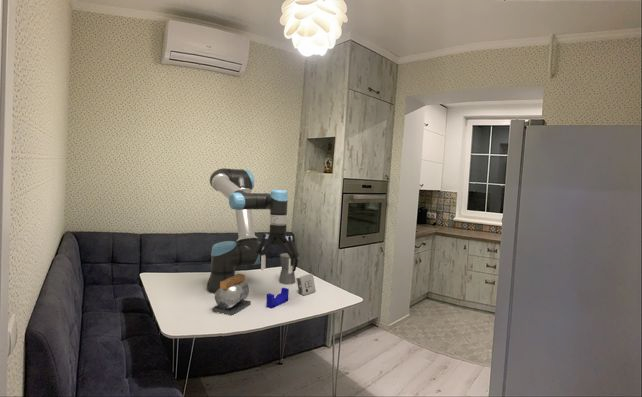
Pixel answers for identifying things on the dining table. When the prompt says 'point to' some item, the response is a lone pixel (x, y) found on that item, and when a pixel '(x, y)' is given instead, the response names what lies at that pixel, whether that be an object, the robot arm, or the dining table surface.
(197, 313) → the dining table surface
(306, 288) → the electrical switch
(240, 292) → the silver rounded piece
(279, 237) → the robot arm
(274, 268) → the dining table surface
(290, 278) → the coffeepot
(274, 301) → the blue notched block
